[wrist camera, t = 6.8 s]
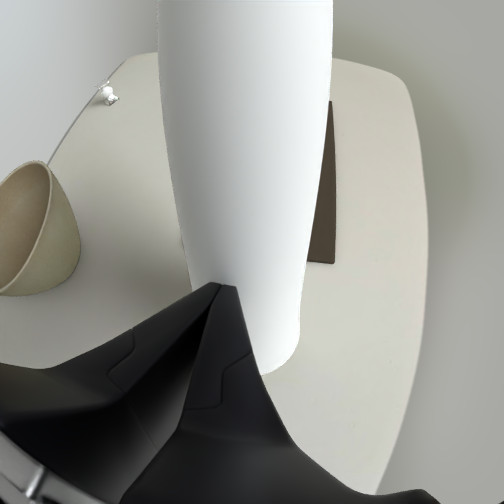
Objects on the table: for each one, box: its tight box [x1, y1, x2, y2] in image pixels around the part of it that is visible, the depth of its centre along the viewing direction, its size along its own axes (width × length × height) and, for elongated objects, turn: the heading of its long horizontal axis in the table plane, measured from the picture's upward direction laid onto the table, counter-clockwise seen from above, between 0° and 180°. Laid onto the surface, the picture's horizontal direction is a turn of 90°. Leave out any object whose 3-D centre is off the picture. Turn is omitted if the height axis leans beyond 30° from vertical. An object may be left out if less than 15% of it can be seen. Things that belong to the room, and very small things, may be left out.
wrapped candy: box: [95, 79, 119, 106], centre depth 24 cm, size 2×2×3 cm
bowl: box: [0, 161, 81, 296], centre depth 16 cm, size 10×10×7 cm
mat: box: [306, 101, 336, 264], centre depth 21 cm, size 16×10×1 cm, turn 172°
